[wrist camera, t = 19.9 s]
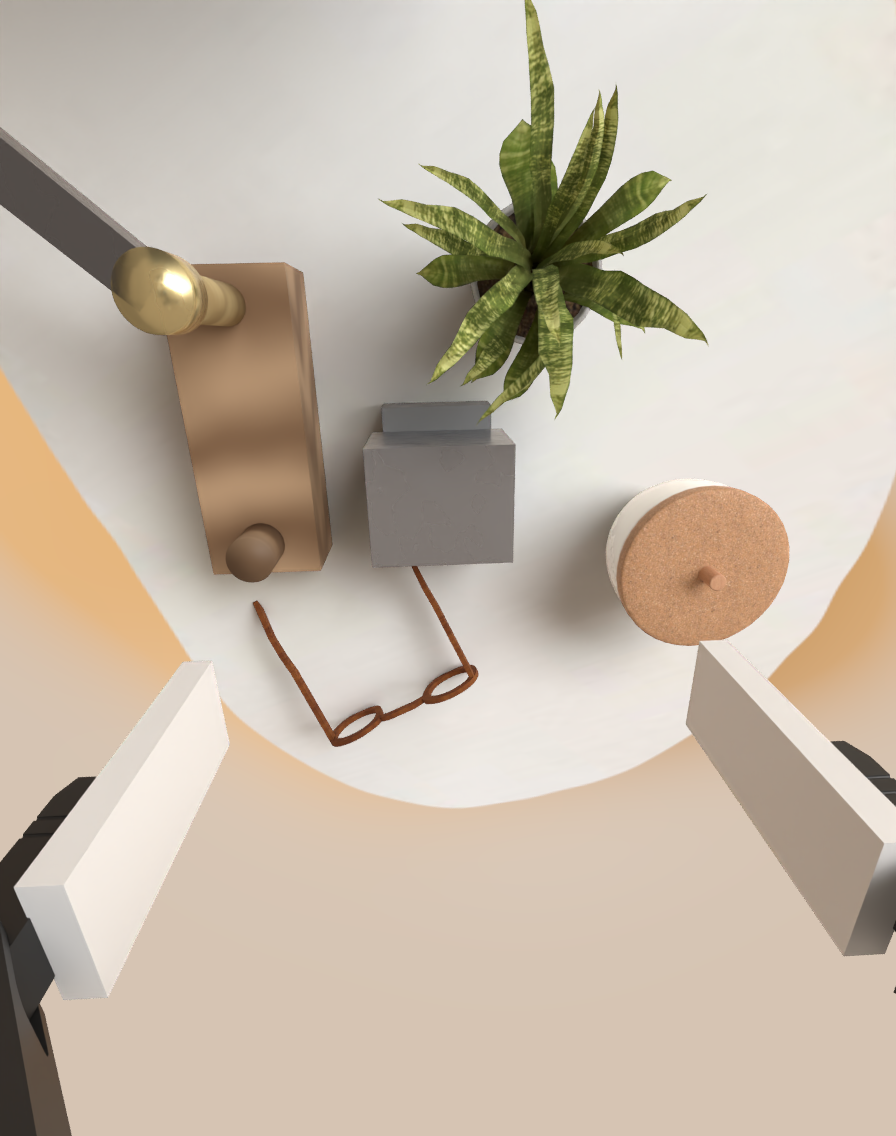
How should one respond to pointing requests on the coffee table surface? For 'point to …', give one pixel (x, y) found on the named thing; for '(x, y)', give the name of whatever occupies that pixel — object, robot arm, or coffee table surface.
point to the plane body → (254, 422)
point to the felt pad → (435, 416)
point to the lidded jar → (696, 560)
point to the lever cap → (440, 497)
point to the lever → (102, 246)
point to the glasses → (379, 715)
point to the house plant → (546, 247)
